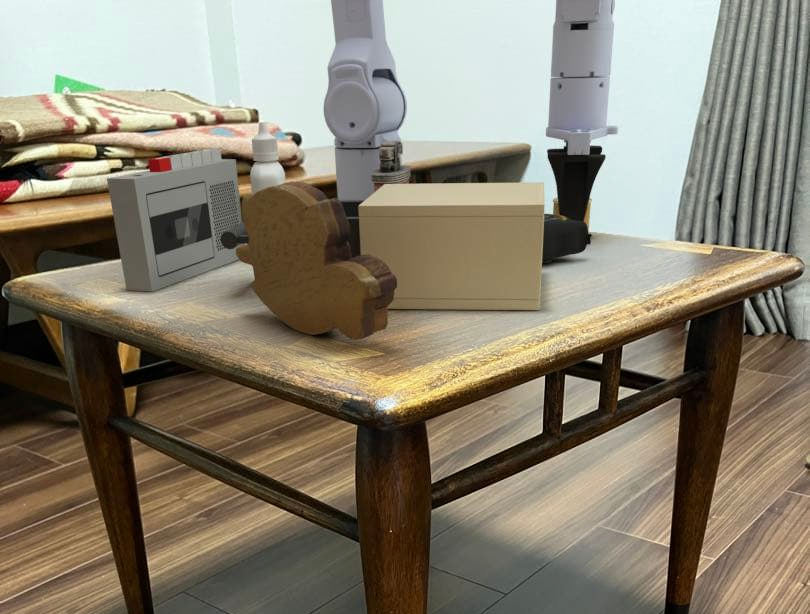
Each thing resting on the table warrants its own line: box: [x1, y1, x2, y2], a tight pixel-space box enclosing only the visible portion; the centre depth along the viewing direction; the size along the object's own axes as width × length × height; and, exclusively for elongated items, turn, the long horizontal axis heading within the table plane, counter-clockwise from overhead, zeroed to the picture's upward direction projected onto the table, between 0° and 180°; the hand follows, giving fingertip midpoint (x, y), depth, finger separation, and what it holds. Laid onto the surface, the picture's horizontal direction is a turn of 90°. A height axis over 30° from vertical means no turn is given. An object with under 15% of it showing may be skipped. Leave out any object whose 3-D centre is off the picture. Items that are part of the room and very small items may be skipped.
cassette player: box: [106, 148, 246, 293], centre depth 80 cm, size 16×3×10 cm, turn 158°
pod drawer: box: [221, 200, 365, 258], centre depth 72 cm, size 17×11×6 cm
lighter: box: [371, 140, 412, 193], centre depth 87 cm, size 8×3×10 cm, turn 168°
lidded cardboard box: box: [358, 182, 546, 311], centre depth 71 cm, size 14×13×8 cm
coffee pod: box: [552, 197, 593, 234], centre depth 92 cm, size 4×4×4 cm
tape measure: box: [542, 213, 593, 264], centre depth 82 cm, size 7×7×4 cm
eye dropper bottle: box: [249, 121, 287, 194], centre depth 87 cm, size 4×6×12 cm
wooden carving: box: [236, 181, 397, 340], centre depth 61 cm, size 16×5×10 cm, turn 44°
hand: (570, 223), depth 92 cm, fingers closed on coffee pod, 4 cm apart
